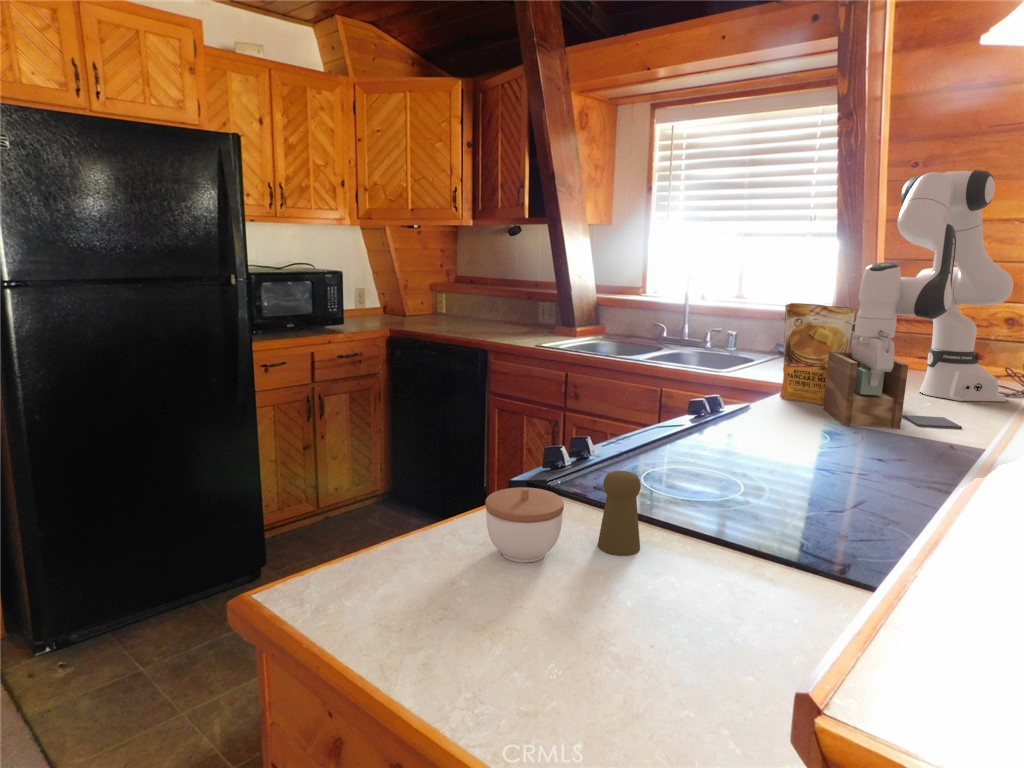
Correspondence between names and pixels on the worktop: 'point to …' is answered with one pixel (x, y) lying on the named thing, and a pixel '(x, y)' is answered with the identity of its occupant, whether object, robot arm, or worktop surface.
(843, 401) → the bin
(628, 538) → the cork
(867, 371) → the block
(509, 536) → the lidded jar
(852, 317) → the pancake mix bag
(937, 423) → the mat
